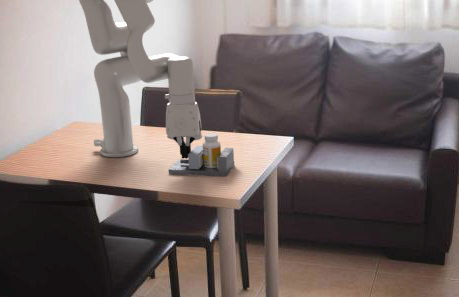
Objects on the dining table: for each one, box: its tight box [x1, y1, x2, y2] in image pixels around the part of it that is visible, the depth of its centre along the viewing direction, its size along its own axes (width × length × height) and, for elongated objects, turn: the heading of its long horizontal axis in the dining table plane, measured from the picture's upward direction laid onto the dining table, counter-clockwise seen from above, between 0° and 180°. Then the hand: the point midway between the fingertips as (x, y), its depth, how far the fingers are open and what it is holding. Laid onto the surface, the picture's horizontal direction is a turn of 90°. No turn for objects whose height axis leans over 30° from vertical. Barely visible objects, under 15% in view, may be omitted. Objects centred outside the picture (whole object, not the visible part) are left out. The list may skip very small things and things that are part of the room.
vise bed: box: [168, 147, 235, 178], centre depth 208 cm, size 18×10×6 cm, turn 76°
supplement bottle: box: [202, 132, 222, 168], centre depth 206 cm, size 5×5×10 cm
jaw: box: [180, 145, 204, 169], centre depth 208 cm, size 7×9×4 cm
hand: (185, 157), depth 209 cm, fingers closed
